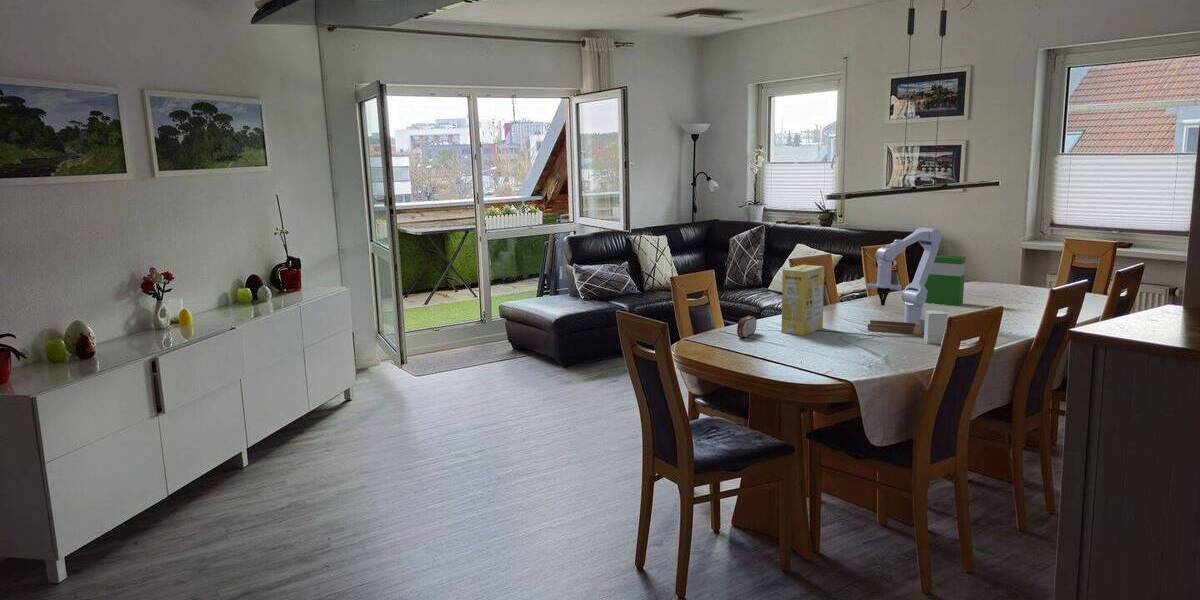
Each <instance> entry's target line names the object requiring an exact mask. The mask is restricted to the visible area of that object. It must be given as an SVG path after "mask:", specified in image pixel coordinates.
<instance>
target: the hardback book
mask: <svg viewBox="0 0 1200 600" xmlns="http://www.w3.org/2000/svg"><path fill="white" fill-rule="evenodd" d="M965 272H966V256H958V255H942V254H937V255H936V257H935V260H934V262H933V265H932V268H931V270H930V273H929V276H928V278H927V281H926V283H925V288H926V289H927V291H928V292H927V295H926V301H925V303H924V304H932V303H934V304H935V305H943V304H946V305H945V306H953V305H954V306H955V307H960V306H961V305H963V304H964V289H965V287H964V286H965V275H966V274H965Z"/></svg>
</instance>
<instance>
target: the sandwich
mask: <svg viewBox="0 0 1200 600" xmlns="http://www.w3.org/2000/svg"><path fill="white" fill-rule="evenodd" d="M757 322H758V321H757V317H755V316H753V315H752V316H751V315H747V316H745V317H742V318H740V319H739V321H738V323H737V327H736V334H737V337H738V338H742V337H746V336H748V335H750V336H752V335H754V334H755V332H756V330H757V329H756V328H757ZM753 333H754V334H753ZM751 334H752V335H751ZM748 337H749V336H748ZM746 338H747V337H746Z"/></svg>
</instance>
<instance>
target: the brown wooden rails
mask: <svg viewBox="0 0 1200 600" xmlns="http://www.w3.org/2000/svg"><path fill="white" fill-rule="evenodd" d="M919 326H920V323H909V322H904V321H890V320H889V321H888V320H878V319H877V320H876V319H870V320H869V323H867V331H868V330H869V332H880V331H882V332H883V333H884V332H885V333H895V332H896V333H897V334H910V335H911V334H912V335H913V334H914V335H922V333H921V329H922V327H919Z"/></svg>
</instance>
